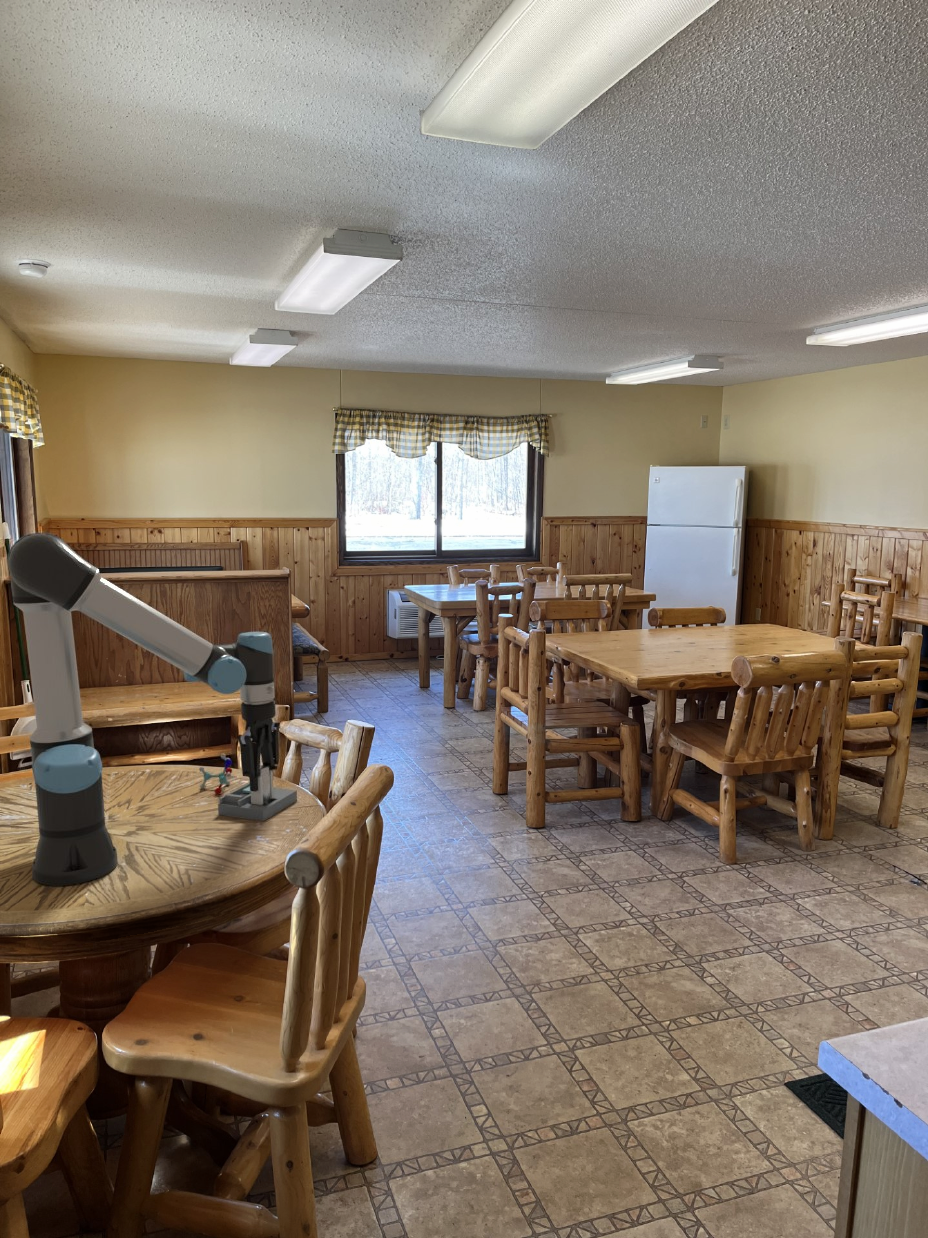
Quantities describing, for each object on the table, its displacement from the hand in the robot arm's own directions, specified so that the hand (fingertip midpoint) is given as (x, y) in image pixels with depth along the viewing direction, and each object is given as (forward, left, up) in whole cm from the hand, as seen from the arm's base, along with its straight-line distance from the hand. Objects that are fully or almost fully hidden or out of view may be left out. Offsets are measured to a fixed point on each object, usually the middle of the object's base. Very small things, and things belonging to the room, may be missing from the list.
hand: (262, 800), depth 197 cm
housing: (+2, +3, -3) cm, 4 cm away
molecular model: (+11, +20, -3) cm, 23 cm away
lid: (+6, +6, 0) cm, 8 cm away
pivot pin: (0, 0, -2) cm, 2 cm away
